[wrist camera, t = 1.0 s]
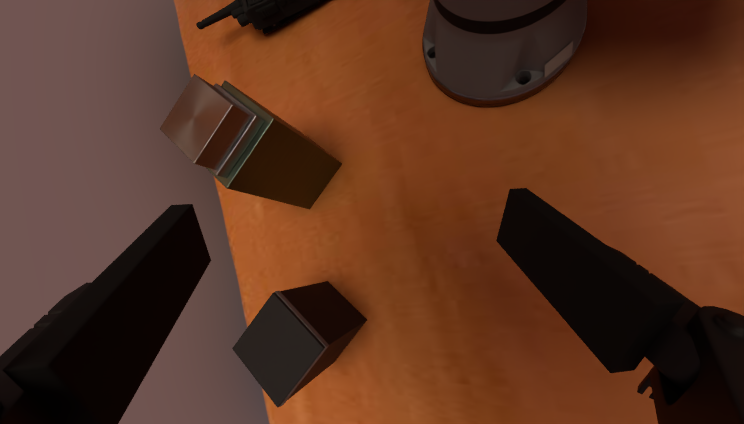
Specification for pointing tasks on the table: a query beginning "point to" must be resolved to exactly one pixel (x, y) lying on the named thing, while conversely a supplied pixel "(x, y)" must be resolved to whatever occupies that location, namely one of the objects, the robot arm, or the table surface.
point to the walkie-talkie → (261, 13)
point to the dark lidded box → (297, 338)
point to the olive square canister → (247, 145)
